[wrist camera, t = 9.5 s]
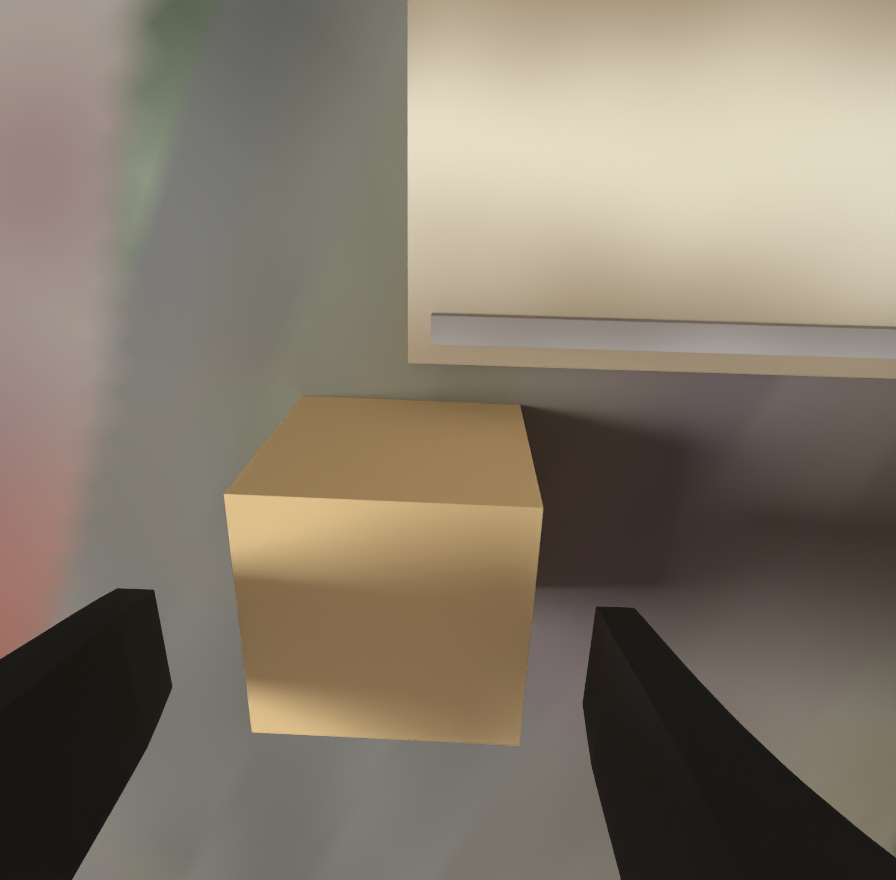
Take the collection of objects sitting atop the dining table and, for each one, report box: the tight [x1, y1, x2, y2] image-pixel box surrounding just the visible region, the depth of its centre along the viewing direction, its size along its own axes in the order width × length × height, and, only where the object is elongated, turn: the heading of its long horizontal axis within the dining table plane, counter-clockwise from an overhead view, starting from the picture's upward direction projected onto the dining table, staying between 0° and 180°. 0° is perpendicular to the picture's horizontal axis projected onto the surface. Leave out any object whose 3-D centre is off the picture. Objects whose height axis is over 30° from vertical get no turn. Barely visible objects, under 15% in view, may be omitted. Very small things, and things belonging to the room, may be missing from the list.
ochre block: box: [224, 396, 543, 746], centre depth 13 cm, size 5×5×5 cm
